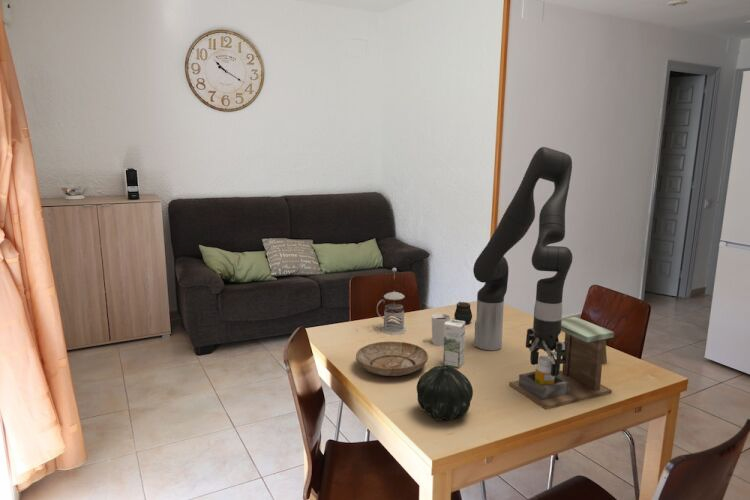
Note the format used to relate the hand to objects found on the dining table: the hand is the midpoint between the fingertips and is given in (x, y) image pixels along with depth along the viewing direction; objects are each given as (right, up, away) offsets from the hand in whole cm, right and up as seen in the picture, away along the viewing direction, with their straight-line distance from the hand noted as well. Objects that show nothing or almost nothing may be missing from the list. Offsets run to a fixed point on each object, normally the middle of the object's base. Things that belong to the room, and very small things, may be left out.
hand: (544, 369), depth 151 cm
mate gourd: (-13, +5, +62) cm, 64 cm away
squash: (-30, -10, -10) cm, 33 cm away
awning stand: (+7, -7, +4) cm, 10 cm away
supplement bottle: (0, -6, +1) cm, 6 cm away
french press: (-42, +3, +54) cm, 68 cm away
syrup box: (-23, -3, +22) cm, 32 cm away
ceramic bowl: (-43, -4, +19) cm, 48 cm away
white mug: (-25, 0, +41) cm, 48 cm away
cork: (+26, -3, +24) cm, 35 cm away
